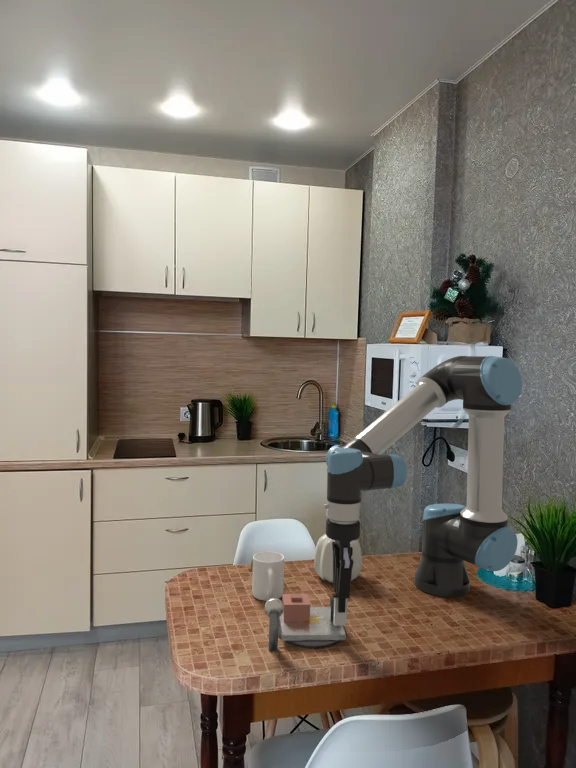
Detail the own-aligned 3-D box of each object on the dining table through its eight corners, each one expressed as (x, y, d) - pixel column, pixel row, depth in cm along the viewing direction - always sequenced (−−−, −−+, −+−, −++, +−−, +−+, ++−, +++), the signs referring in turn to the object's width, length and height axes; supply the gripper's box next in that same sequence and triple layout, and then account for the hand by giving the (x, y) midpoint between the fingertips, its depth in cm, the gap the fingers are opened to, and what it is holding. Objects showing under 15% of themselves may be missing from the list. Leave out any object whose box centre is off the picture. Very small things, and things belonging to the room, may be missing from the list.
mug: (287, 607, 144) (288, 567, 143) (254, 608, 142) (255, 568, 142) (281, 588, 155) (282, 551, 155) (251, 589, 154) (251, 551, 154)
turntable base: (338, 614, 140) (338, 610, 140) (350, 648, 124) (350, 643, 124) (274, 615, 139) (274, 611, 139) (277, 648, 123) (277, 644, 123)
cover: (306, 609, 137) (307, 590, 137) (309, 621, 131) (310, 601, 131) (282, 610, 136) (282, 590, 136) (283, 621, 130) (284, 601, 130)
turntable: (335, 611, 139) (336, 586, 139) (345, 640, 125) (346, 612, 125) (278, 611, 138) (279, 586, 138) (282, 640, 124) (283, 612, 124)
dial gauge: (281, 645, 125) (283, 597, 124) (282, 651, 122) (284, 603, 122) (263, 645, 125) (264, 597, 124) (264, 651, 122) (265, 603, 121)
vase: (304, 579, 162) (305, 533, 161) (329, 565, 173) (330, 522, 172) (347, 592, 154) (348, 543, 153) (370, 576, 165) (371, 531, 165)
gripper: (322, 511, 131) (319, 610, 132) (330, 528, 118) (327, 638, 120) (354, 511, 132) (351, 610, 133) (366, 528, 119) (362, 638, 120)
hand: (339, 623), depth 126 cm, fingers closed
